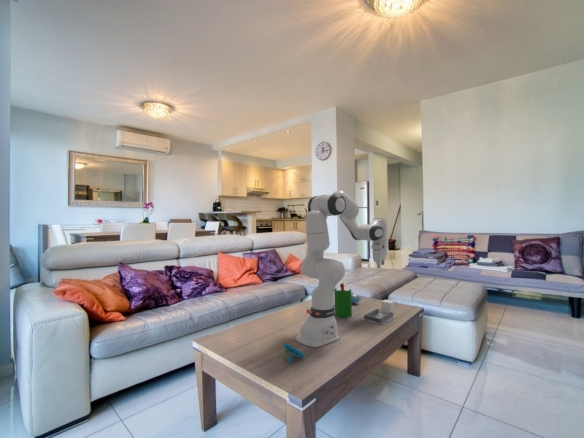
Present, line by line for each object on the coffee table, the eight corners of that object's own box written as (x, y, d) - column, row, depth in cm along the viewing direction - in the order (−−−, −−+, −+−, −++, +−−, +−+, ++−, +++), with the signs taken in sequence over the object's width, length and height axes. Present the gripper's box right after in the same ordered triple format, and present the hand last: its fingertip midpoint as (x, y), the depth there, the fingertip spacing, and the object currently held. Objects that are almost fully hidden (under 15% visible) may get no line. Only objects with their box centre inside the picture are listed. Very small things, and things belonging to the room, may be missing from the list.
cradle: (383, 325, 150) (383, 320, 150) (362, 319, 159) (362, 314, 159) (395, 318, 161) (395, 313, 161) (374, 313, 170) (374, 308, 170)
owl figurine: (351, 285, 208) (369, 289, 196) (351, 297, 208) (369, 301, 196) (327, 293, 189) (345, 297, 178) (327, 305, 189) (345, 311, 178)
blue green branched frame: (310, 357, 114) (294, 344, 111) (303, 371, 111) (287, 359, 108) (294, 351, 123) (279, 339, 120) (287, 364, 120) (272, 352, 117)
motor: (351, 313, 172) (350, 280, 172) (352, 318, 163) (351, 284, 163) (334, 312, 173) (333, 281, 173) (335, 317, 164) (334, 284, 164)
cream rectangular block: (390, 314, 167) (390, 303, 167) (380, 312, 172) (380, 301, 172) (394, 312, 171) (394, 301, 171) (384, 310, 175) (384, 299, 175)
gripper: (378, 241, 180) (379, 262, 181) (370, 246, 163) (371, 269, 164) (388, 241, 177) (389, 263, 178) (381, 247, 160) (382, 270, 160)
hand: (380, 266), depth 171 cm, fingers open, 8 cm apart
